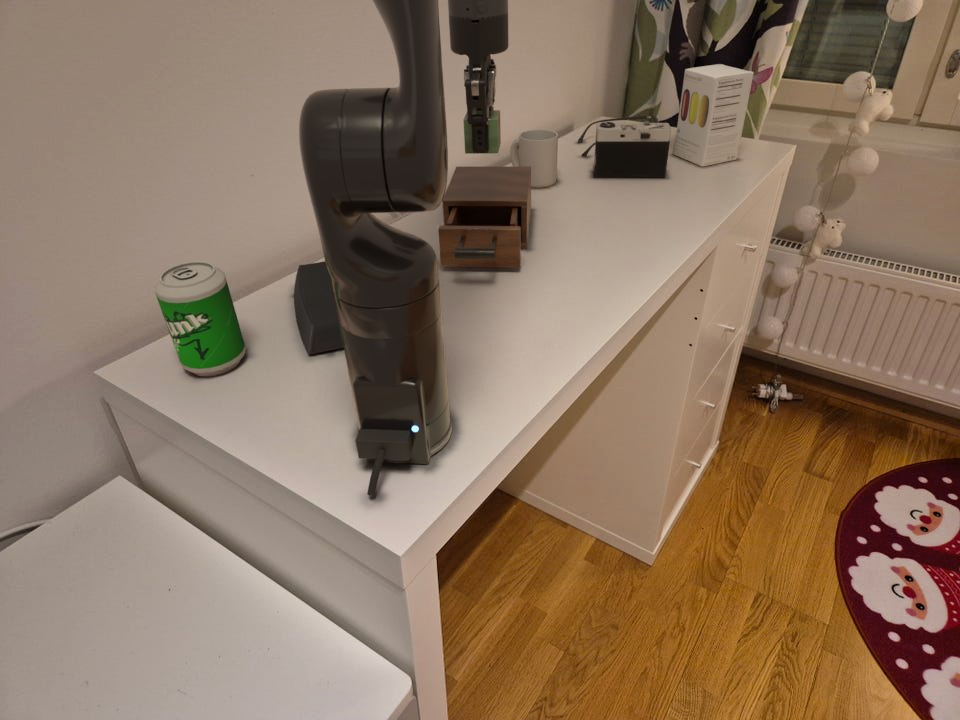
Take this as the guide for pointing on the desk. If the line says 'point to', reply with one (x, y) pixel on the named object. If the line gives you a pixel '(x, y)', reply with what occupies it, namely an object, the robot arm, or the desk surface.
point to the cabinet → (491, 191)
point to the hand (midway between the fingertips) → (482, 146)
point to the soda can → (200, 318)
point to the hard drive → (316, 309)
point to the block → (493, 132)
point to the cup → (537, 155)
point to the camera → (631, 150)
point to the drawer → (481, 237)
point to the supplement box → (712, 114)
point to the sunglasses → (651, 117)
